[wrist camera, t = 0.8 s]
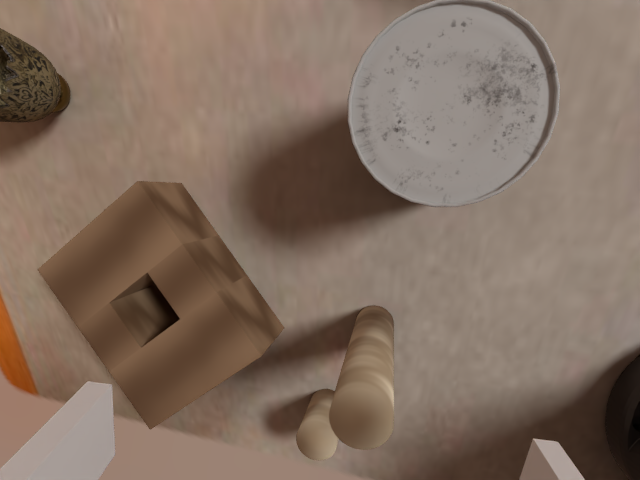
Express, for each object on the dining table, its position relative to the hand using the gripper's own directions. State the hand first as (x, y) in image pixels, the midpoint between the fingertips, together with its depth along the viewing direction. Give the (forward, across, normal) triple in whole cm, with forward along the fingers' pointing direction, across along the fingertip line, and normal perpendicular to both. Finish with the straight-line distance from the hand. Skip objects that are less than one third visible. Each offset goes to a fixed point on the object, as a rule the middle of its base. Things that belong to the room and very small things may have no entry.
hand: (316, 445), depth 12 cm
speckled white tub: (+22, -6, -10) cm, 24 cm away
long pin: (+20, -5, +6) cm, 21 cm away
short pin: (+19, -2, +14) cm, 24 cm away
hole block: (+22, +13, +6) cm, 27 cm away
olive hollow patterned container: (+27, +27, -10) cm, 40 cm away
